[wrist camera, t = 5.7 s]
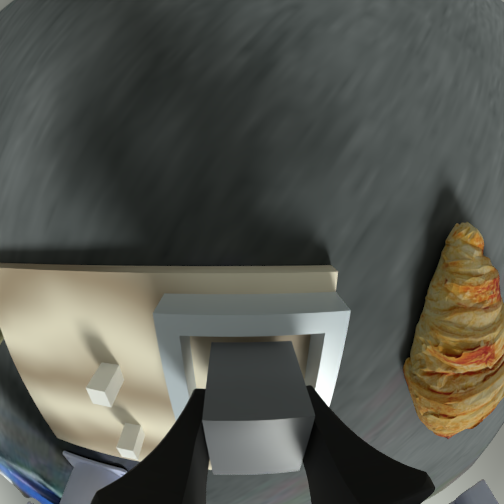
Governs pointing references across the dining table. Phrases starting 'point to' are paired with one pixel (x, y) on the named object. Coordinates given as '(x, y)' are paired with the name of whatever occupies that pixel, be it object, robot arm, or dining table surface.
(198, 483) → the robot arm
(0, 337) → the figurine
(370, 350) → the dining table surface
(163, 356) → the end holder
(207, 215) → the dining table surface
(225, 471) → the block
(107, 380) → the twin white cubes
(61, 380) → the board
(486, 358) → the croissant
